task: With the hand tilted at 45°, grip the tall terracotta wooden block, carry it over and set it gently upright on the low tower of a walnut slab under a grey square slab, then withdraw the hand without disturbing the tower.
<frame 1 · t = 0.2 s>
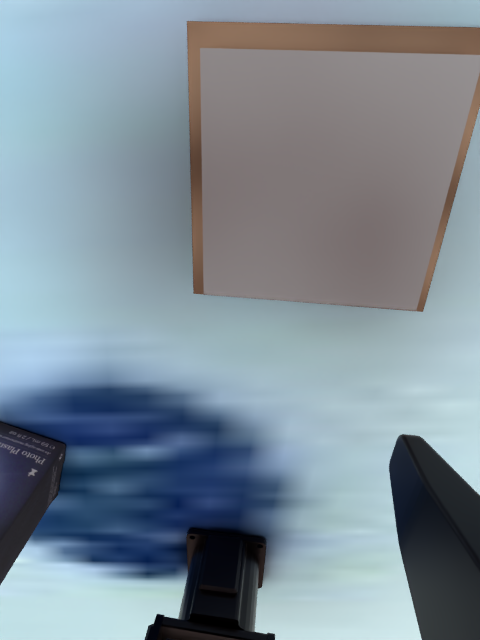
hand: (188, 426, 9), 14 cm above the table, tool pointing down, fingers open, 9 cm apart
tower base block: (317, 177, 21), on the table, touching grey square slab
grey square slab: (318, 185, 19), point 1 cm above the table, touching tower base block
small box: (0, 444, 32), on the table
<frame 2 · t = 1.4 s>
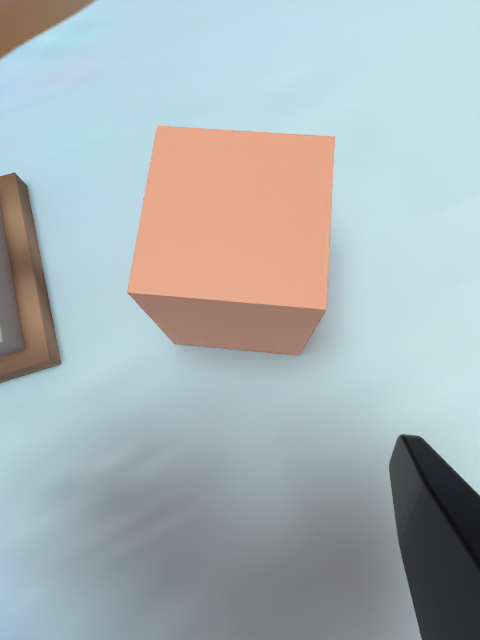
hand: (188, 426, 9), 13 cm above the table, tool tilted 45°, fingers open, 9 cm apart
terracotta block: (242, 290, 24), on the table
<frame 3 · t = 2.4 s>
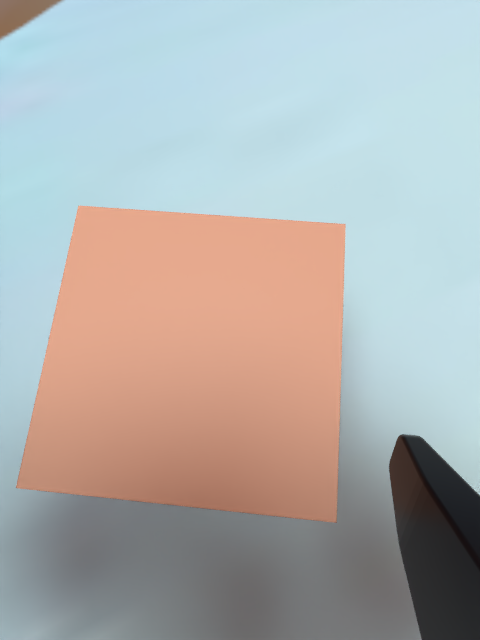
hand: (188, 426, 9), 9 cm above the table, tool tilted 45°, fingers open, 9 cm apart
terracotta block: (221, 387, 18), on the table
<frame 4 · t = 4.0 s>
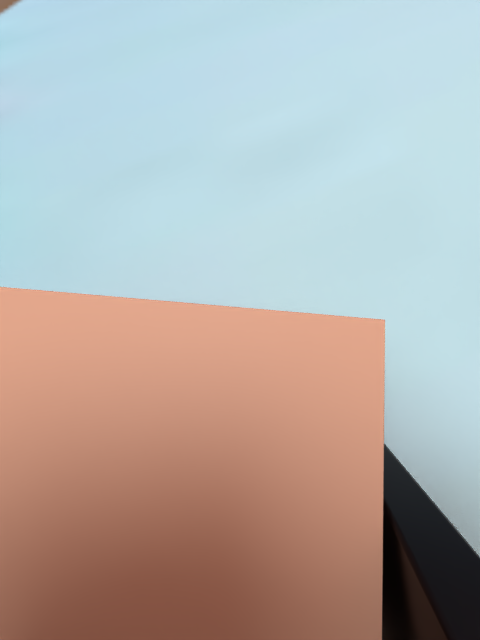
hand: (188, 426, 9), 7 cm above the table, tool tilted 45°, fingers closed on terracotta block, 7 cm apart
terracotta block: (211, 467, 15), on the table, touching gripper
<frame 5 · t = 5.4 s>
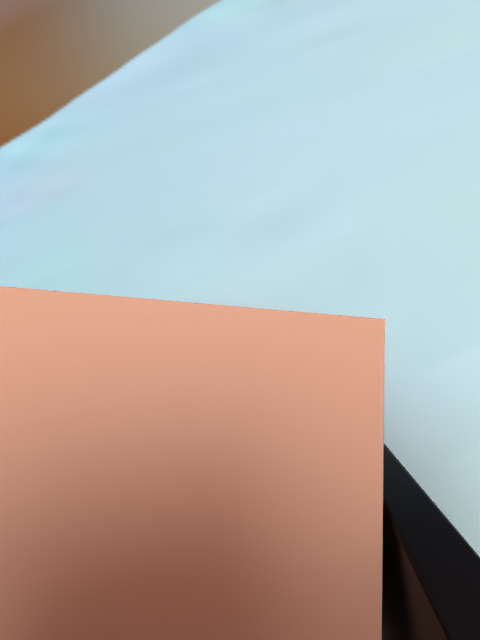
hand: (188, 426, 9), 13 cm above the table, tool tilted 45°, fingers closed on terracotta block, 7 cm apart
terracotta block: (211, 467, 15), point 7 cm above the table, touching gripper
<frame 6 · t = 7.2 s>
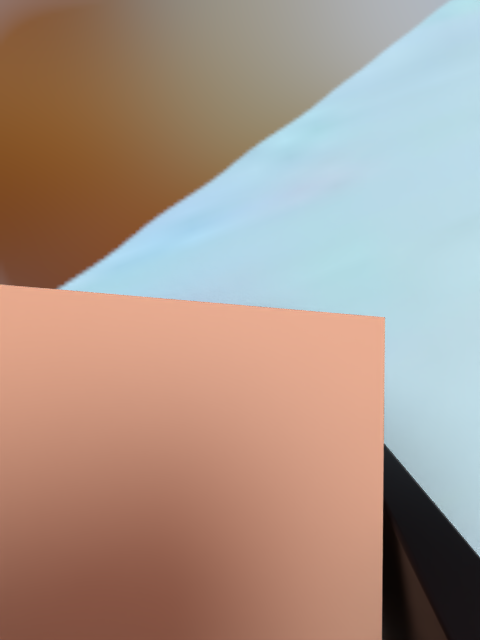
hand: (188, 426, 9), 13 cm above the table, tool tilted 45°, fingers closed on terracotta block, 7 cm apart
terracotta block: (211, 466, 15), point 7 cm above the table, touching gripper
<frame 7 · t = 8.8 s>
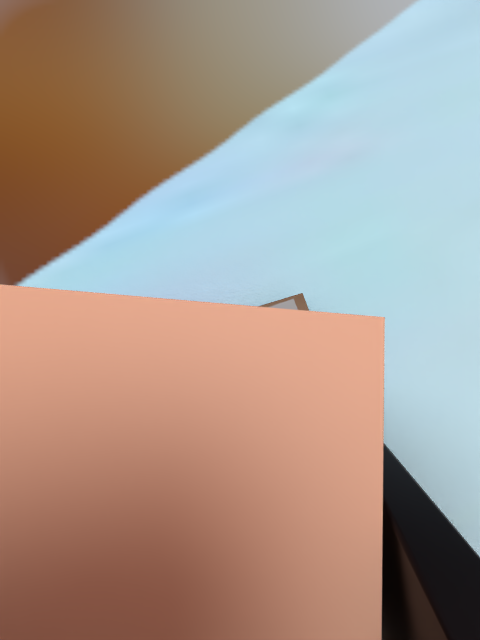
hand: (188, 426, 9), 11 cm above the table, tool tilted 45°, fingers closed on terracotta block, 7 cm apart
terracotta block: (211, 466, 15), point 4 cm above the table, touching gripper
when the fingers open (11 cm above the table, at t = 9.4 s): terracotta block drops 1 cm, resting on grey square slab.
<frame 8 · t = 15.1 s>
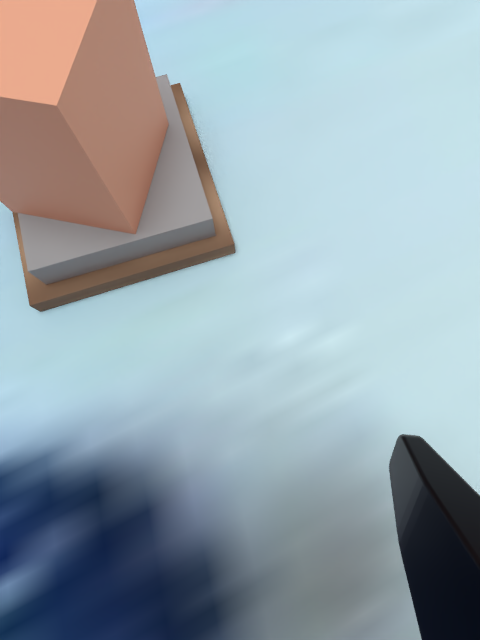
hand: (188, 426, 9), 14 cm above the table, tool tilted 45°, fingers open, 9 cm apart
terracotta block: (92, 166, 23), point 3 cm above the table, touching grey square slab
tower base block: (120, 203, 27), on the table, touching grey square slab
grey square slab: (113, 186, 25), point 1 cm above the table, touching terracotta block, tower base block
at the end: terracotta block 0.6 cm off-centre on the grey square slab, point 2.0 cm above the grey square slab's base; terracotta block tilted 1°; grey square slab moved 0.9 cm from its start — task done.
